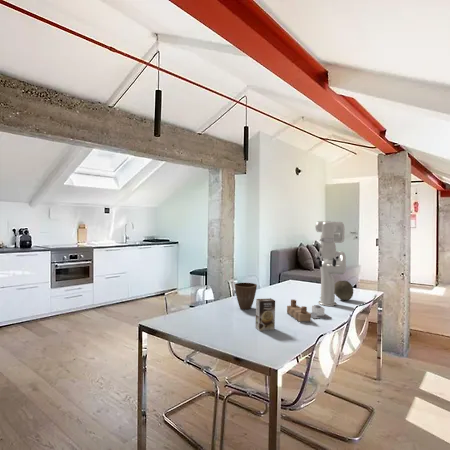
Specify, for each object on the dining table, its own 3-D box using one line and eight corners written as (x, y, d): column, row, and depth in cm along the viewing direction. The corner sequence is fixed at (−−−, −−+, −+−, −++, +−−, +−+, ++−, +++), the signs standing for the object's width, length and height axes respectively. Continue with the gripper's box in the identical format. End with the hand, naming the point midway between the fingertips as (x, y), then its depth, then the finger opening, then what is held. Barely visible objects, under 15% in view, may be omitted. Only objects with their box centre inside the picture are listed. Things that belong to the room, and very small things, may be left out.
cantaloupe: (350, 298, 265) (350, 279, 265) (355, 302, 251) (355, 282, 251) (331, 297, 267) (332, 278, 267) (335, 302, 253) (336, 281, 253)
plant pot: (255, 311, 222) (255, 287, 221) (232, 310, 225) (232, 286, 224) (257, 306, 236) (257, 283, 236) (236, 304, 239) (236, 282, 239)
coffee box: (259, 331, 183) (259, 301, 183) (255, 327, 189) (255, 298, 189) (275, 330, 185) (275, 300, 185) (270, 326, 191) (270, 297, 191)
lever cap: (311, 313, 217) (312, 304, 217) (319, 313, 218) (319, 304, 218) (316, 316, 211) (316, 307, 211) (324, 316, 211) (324, 307, 211)
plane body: (286, 313, 219) (287, 299, 219) (297, 313, 220) (297, 299, 220) (299, 322, 199) (299, 307, 199) (310, 322, 201) (310, 307, 201)
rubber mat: (305, 313, 219) (305, 312, 219) (322, 313, 221) (322, 312, 221) (313, 319, 207) (313, 318, 207) (331, 318, 210) (331, 317, 210)
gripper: (318, 241, 220) (317, 267, 221) (342, 241, 223) (342, 267, 224) (313, 240, 227) (312, 265, 228) (337, 240, 230) (336, 265, 231)
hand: (327, 266), depth 226 cm, fingers open, 9 cm apart
